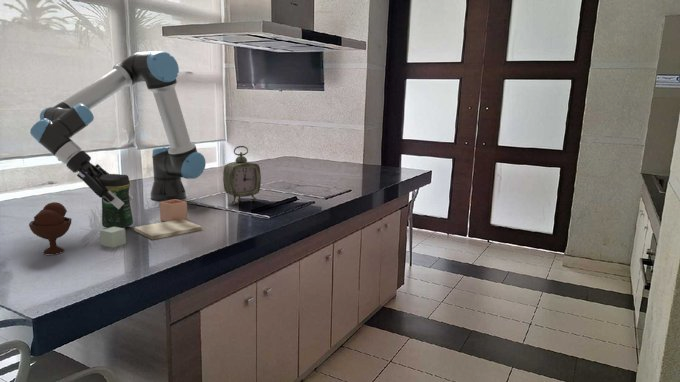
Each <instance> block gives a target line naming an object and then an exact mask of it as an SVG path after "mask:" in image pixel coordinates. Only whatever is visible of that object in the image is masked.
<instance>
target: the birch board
mask: <svg viewBox="0 0 680 382" xmlns="http://www.w3.org/2000/svg"><path fill="white" fill-rule="evenodd" d="M133 229H134V231H135V232H136V233H138V234H140V235H142V236H144V237H146V238H148V239H150V240H151V241H152V240H157V239H162V238H168V237H172V236H177V235H182V234H183V235H184V234H187V233H193V232H197V231H203V228H202V226H201V225H198V224H196V223H194V222H192V221H189V220H185V219H178V220H173V221H167V222H166V221H162V222H157V223H150V224H145V225H140V226H134V227H133Z"/></svg>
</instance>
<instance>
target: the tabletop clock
mask: <svg viewBox="0 0 680 382" xmlns="http://www.w3.org/2000/svg"><path fill="white" fill-rule="evenodd" d="M240 148H245V149H246V152H244V153H243V152H241V151H240V153H236V150H237V149H240ZM248 153H249V149H248V147H246V146H245V145H239V146H236V147H234V149H233V154H234V155H235V156H237V157H236V158H235V160H234V161H232V162H228V163H225V165H224V167H223V175H222V176H223V178H222V179H223V180H222V181H223V188H224V189H223V190H224V193H226V194H228V195H231V196H233V200H232V201H231V204H232V205H233V206H234V205H236V203H237V202H236V201H238V202H241V201H242V198H243V197H245V198H246V197H250V196H251V197H252V198H253V199H252V200H253V202H258V201H257V200H258V198H257V197H255V196H254V195H257V194H259V193H260V190H261V184H262V182H261V181H262V178H261V175H262V173H261V168H260V166H259V164H257V163H254V162H249V161H248V159H247V157H246V156H245V155H247V154H248ZM236 198H237V200H236Z"/></svg>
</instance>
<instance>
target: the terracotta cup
mask: <svg viewBox="0 0 680 382" xmlns="http://www.w3.org/2000/svg"><path fill="white" fill-rule="evenodd" d="M187 202H188V201H186V200H185V201H184V200H182V199H173V200H162V201H159V215H160V216H159V217H160V218H159V220H160V221H162V222H167V221H173V220H178V219H185V220H187V221H189V219H188V203H187Z"/></svg>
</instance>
